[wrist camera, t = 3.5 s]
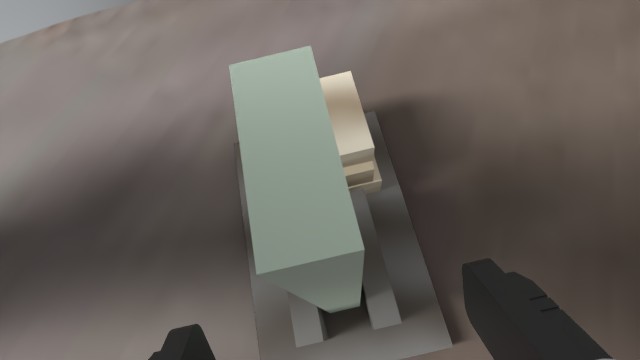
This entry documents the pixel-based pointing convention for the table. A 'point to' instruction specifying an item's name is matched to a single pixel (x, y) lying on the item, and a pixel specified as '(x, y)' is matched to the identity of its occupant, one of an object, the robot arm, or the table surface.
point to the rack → (378, 268)
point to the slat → (296, 182)
